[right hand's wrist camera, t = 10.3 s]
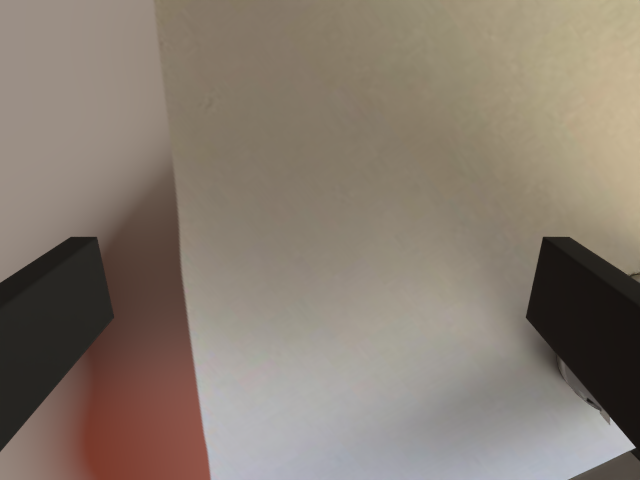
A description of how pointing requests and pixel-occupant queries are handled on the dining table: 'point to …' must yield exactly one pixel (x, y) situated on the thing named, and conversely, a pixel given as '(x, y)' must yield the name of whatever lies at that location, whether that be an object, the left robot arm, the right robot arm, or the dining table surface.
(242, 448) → the dining table surface
